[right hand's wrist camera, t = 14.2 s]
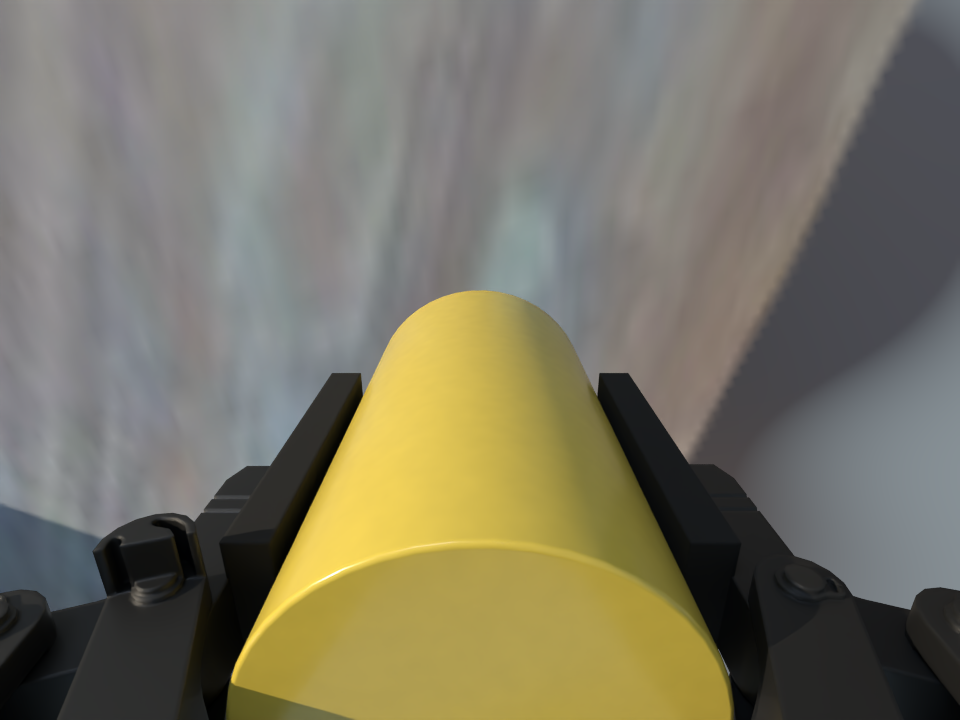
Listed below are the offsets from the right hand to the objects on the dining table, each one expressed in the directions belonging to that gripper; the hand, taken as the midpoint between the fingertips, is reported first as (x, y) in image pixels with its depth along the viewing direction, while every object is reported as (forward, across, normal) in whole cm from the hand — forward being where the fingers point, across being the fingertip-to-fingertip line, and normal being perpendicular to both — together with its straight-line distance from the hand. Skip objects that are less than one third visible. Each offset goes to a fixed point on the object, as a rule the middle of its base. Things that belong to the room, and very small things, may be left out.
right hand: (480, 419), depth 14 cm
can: (+2, 0, 0) cm, 2 cm away
